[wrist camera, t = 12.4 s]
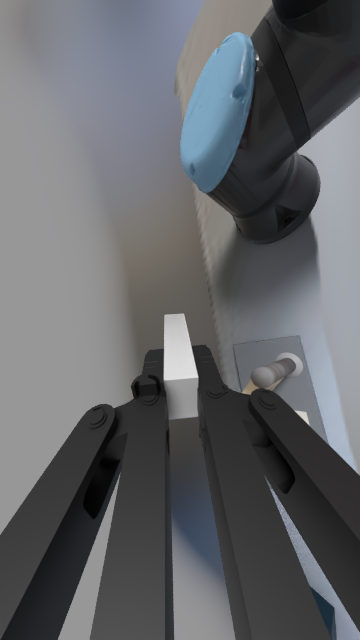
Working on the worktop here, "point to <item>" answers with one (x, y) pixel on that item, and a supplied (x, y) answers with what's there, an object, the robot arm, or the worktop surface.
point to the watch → (326, 614)
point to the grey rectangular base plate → (291, 387)
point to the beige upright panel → (270, 375)
